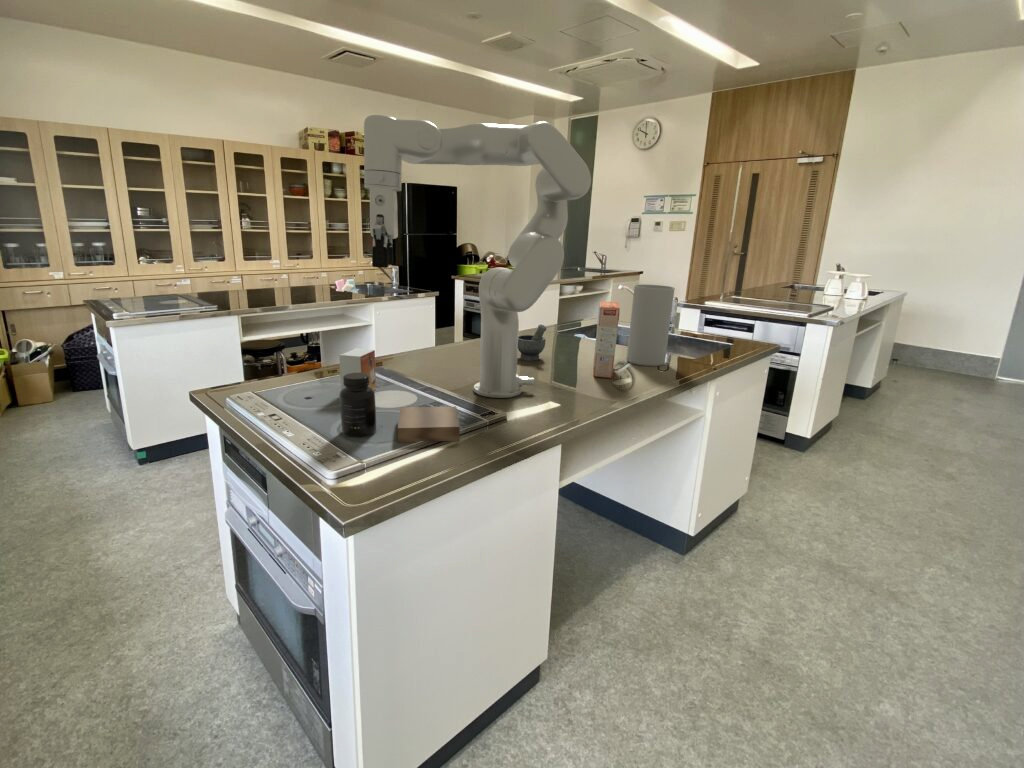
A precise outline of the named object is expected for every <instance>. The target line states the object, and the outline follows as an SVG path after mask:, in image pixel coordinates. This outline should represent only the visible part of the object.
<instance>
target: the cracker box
mask: <svg viewBox="0 0 1024 768" xmlns="http://www.w3.org/2000/svg"><path fill="white" fill-rule="evenodd" d="M619 305H620V304H619V302H617V301H608V300H607V301H605V300H603V301H599V306H598V315H597V325H596V336H595V347H594V355H593V377H594V378H605V379H612V378H613V376H614V375H613V374H614V365H615V355H616V349H617V348H616V345H617V337H618V328H619V320H620V313H621V312H620V310H621V309H620V306H619Z"/></svg>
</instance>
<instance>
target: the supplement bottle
mask: <svg viewBox="0 0 1024 768" xmlns="http://www.w3.org/2000/svg"><path fill="white" fill-rule="evenodd" d="M343 379H344V383H343V384H344V386H345V388H343V389H342V390H341V389H340V392H339V394H338V396H339V410H340V421H341V422H340V424H341V431H342V434H343V435H344V436H345V437H348V438H356V439H357V438H359V439H360V438H365V437H369V436H372V435H373V434H374V433H375V432H376V431H377V408H376V407H377V406H376V394H375V390H373V389H372V388H371V387H370V386H368V385H369V376H368V374H366V373H349V374H346V375H344V377H343Z"/></svg>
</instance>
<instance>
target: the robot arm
mask: <svg viewBox="0 0 1024 768" xmlns="http://www.w3.org/2000/svg"><path fill="white" fill-rule="evenodd" d="M363 158H364V159H363V162H364V163H363V166H364V168H363V169H364V175H363V176H364V178H363V179H364V180H363V182H364V188H365V189H366V190H368V189H369V229H370V236H371V237H372V247H371V264H372V265H371V266H372V267H373V268H381V269H387V268H389V266H392V265H393V264H394V246H393V240H394V239H397V238H398V237H399V227H398V226H399V224H398V195H397V192H402V167H403V165H402V163H403V162H405V163H407V164H410V165H411V164H412V165H413V164H414V165H457V166H458V165H461V166H510V167H512V166H513V167H516V166H517V167H528V166H534V165H540V166H541V167H542V168H541V169H540V170H539V171H538V173H537V175H536V177H535V178H536V179H535V184H534V186H535V191H536V197H537V204H536V205H537V206H536V210H535V212H534V214H533V216H532V217H531V218H530V220H529V222H528V223H527V224H526V226H524V228H523V229H522V231H521V232H520V233H519V234H518V236H517V237H516V238H515V240H514V241H513V242H512V243H511V245H510V247H509V249H508V254H507V258H508V261H509V264H510V265H511V267H513V269H512V268H509V267H501V266H500V267H493V268H490V269H488V270H487V271H485V272H484V273H483V275H482V276H481V278H480V280H479V284H478V299H479V305H480V350H479V351H480V356H479V357H480V360H479V362H480V363H479V364H480V365H479V382H477V383H475V384H474V385H473V392H474V393H475V394H477V395H479V396H482V397H485V398H491V399H492V398H494V399H505V398H513V397H516V396H519V395H521V393H522V391H523V388H522V387H523V386H535V378H534V377H528V376H520V375H519V374H518V373H517V370H518V369H517V368H518V351H519V350H518V336H519V332H520V331H519V328H520V327H519V326H520V325H519V324H520V323H519V322H520V321H519V315H518V313H522V312H524V311H527V310H529V309H530V308H531V307H533V306H534V304H535V303H536V302H537V301H538V300H539V298H540V297H541V296H542V295H543V294H544V292H545V291H546V289H548V287H549V285H550V284H551V283H552V281H553V280H554V279H555V277H556V276H557V274H558V273H559V271H560V270H561V268H562V266H563V263H564V259H565V258H564V257H565V252H564V251H565V250H564V247H563V244H562V242H561V241H560V240H559V239H561V236H562V235H563V233H564V231H565V229H566V228H567V225H568V218H569V216H568V215H569V214H568V213H569V212H568V203H567V201H573V200H579V199H581V198H582V197H584V196H585V195H586V194H587V193H588V192H589V190H590V188H591V184H592V176H591V172H590V169H589V167H588V165H587V164H586V162H585V160H584V159H583V158H582V157H581V156H580V155H579V154H578V152H577V151H576V150H575V148H574V147H573V146H572V144H570V141H568V140H567V138H566V137H565V136H564V135H563V134H562V133H561V131H560V130H559V129H557V127H555V126H554V125H553V124H551V123H549V122H548V121H544V120H543V121H537V122H534V123H531V124H527V125H526V124H525V125H516V124H498V123H483V122H480V123H479V122H478V123H472V124H471V123H469V124H466V125H461V126H457V127H450V128H448V127H447V128H438V127H437V126H436V125H435V124H434V123H432V122H431V121H429V120H425V119H403V118H401V119H399V118H396V117H393V116H389V115H383V114H371V115H368V116H366V118H364V122H363ZM402 161H403V162H402Z"/></svg>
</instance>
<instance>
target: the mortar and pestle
mask: <svg viewBox="0 0 1024 768" xmlns="http://www.w3.org/2000/svg"><path fill="white" fill-rule="evenodd" d="M546 331H547V327H546V325H544V324H538V326H537V329H536V331H535V333H534V335H533V334H524V335H522V334H519V335H518V351H519V352H520V353H521V354H520V359H521V360H523V361H529V362H531V361H538V360H540V354H541V353H542V352H543V351H544V349H545V347H546V338H545V336H544V334H545V332H546Z"/></svg>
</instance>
